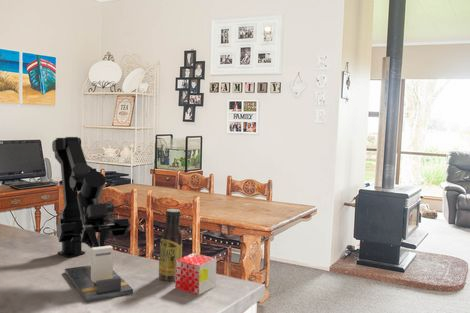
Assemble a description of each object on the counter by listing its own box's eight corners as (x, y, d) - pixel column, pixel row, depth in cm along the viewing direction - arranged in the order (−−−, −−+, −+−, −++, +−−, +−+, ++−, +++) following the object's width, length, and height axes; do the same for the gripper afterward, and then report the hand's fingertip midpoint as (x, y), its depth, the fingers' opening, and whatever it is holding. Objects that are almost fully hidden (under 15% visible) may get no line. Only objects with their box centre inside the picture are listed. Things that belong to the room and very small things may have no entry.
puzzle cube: (198, 294, 124) (199, 265, 124) (175, 288, 128) (175, 259, 128) (215, 286, 131) (216, 258, 130) (192, 280, 135) (193, 253, 135)
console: (64, 272, 137) (64, 258, 137) (105, 267, 144) (105, 253, 143) (86, 301, 117) (86, 285, 117) (133, 293, 123) (133, 277, 123)
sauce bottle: (154, 279, 135) (155, 210, 133) (167, 273, 140) (168, 206, 138) (173, 283, 132) (174, 213, 130) (185, 277, 137) (187, 209, 135)
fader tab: (90, 282, 126) (90, 247, 125) (109, 279, 129) (110, 245, 128) (93, 285, 124) (93, 250, 123) (112, 282, 127) (113, 247, 126)
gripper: (60, 193, 125) (69, 244, 117) (128, 189, 135) (142, 236, 127) (54, 217, 133) (62, 266, 124) (119, 211, 142) (131, 257, 134)
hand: (100, 256), depth 127 cm, fingers closed, pressing on fader tab
